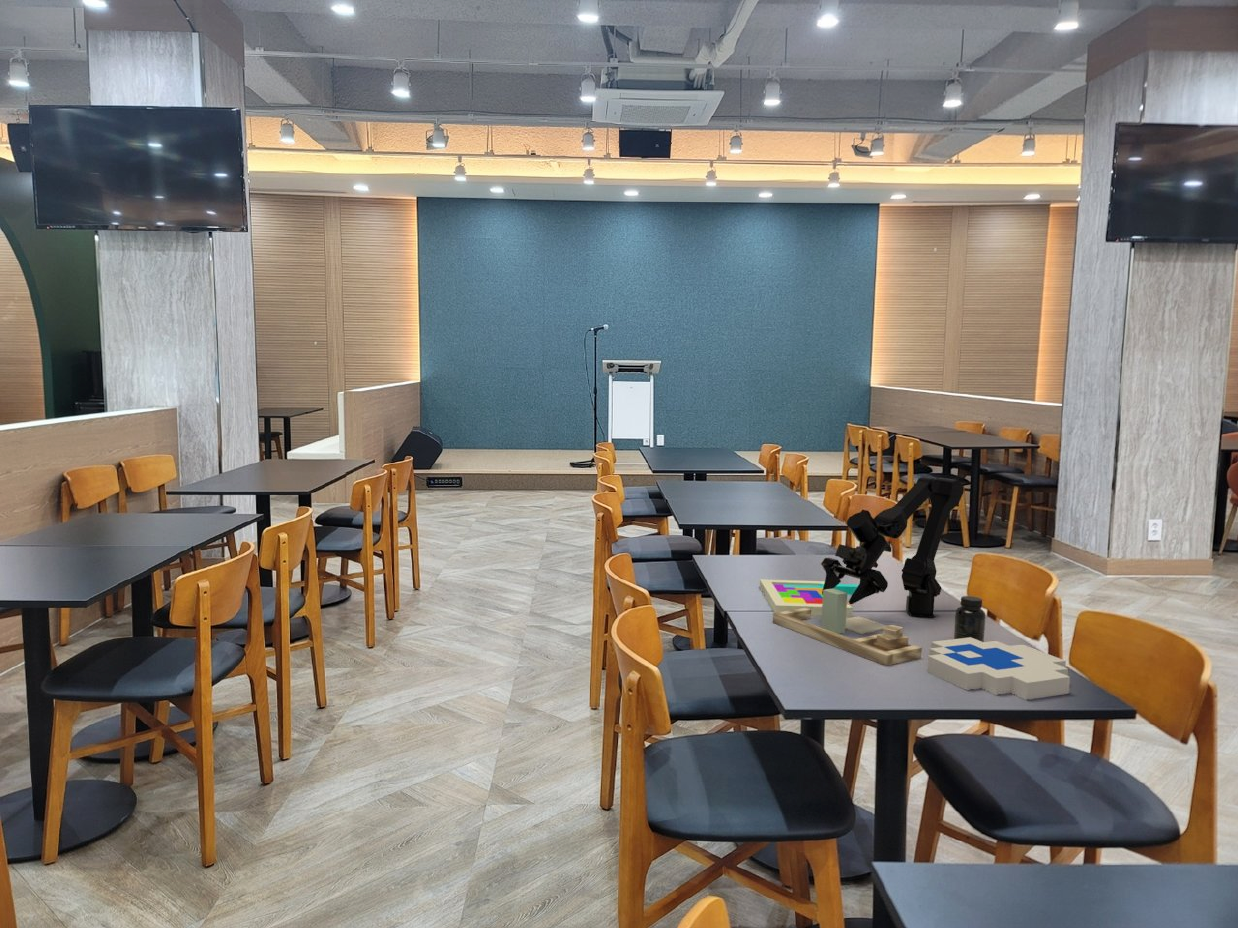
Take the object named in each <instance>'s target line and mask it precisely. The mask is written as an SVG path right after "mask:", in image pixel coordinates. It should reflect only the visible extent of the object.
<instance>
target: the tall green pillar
mask: <svg viewBox="0 0 1238 928" xmlns="http://www.w3.org/2000/svg"><path fill="white" fill-rule="evenodd" d="M847 602H848V595H847V593H846V592H843V591H840V590H836V589H833V588H832V589H826V590H823V604H822V616H821V624H820V626H821V627H820V628H823V629H826V630H829V631H831V632H834V633H837V634H839V635H842V634H845V633H846V629H845V626H846V618H847V617H846V609H847Z"/></svg>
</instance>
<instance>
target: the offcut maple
mask: <svg viewBox="0 0 1238 928" xmlns="http://www.w3.org/2000/svg"><path fill="white" fill-rule="evenodd" d="M887 626H888V627H886V628H884V629H883V630H882V631H883V632H882V634H883V637H886V638H890V639H897V638H899V637H901V636H903V635H904V633H903V632H904V627H903V626H898V625H894V624H890V625H887Z"/></svg>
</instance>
